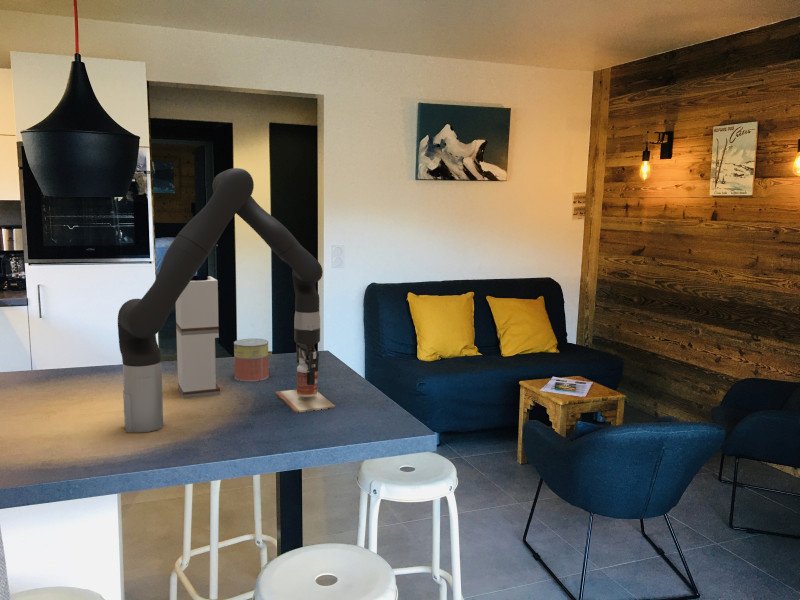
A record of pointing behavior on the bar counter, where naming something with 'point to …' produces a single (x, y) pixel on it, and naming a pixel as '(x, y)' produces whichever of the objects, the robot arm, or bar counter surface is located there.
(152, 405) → the robot arm
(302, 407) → the board
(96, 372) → the bar counter surface
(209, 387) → the white square tower
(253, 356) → the canned food
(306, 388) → the pill bottle
